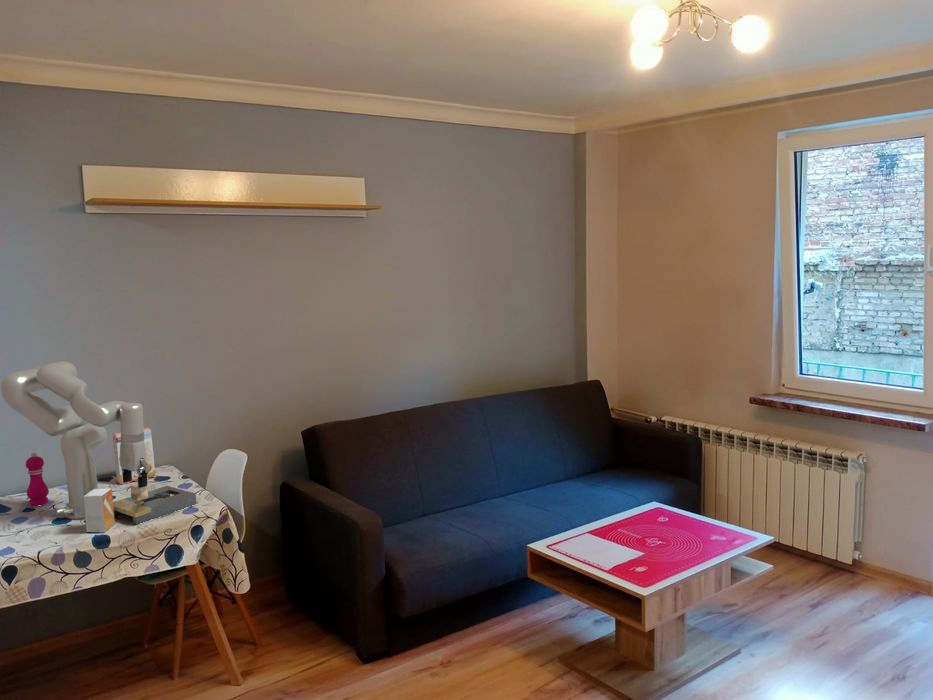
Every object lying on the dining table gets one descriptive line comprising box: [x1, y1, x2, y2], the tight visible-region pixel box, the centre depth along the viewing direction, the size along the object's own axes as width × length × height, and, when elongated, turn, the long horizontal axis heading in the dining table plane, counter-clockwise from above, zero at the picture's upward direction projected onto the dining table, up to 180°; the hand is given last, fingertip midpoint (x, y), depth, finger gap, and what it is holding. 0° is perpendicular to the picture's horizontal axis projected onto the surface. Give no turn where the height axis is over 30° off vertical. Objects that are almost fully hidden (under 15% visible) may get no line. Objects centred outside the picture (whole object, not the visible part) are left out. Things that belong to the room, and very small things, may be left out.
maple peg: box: [129, 482, 148, 504], centre depth 265 cm, size 5×5×11 cm
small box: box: [84, 487, 116, 533], centre depth 252 cm, size 8×6×13 cm
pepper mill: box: [25, 452, 50, 507], centre depth 278 cm, size 7×7×20 cm
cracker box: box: [111, 427, 156, 485], centre depth 306 cm, size 14×6×21 cm, turn 130°
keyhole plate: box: [113, 485, 197, 526], centre depth 269 cm, size 24×18×4 cm
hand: (135, 484), depth 263 cm, fingers open, 9 cm apart
